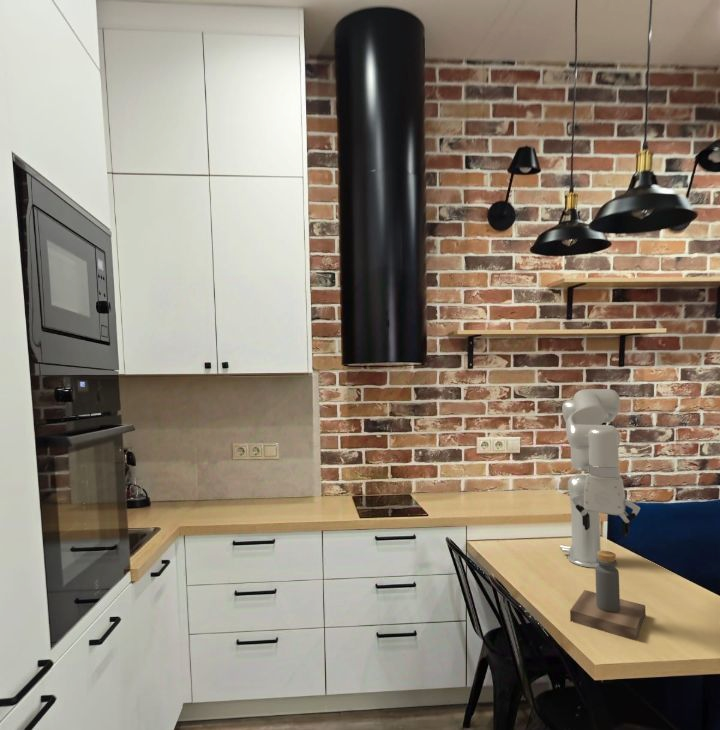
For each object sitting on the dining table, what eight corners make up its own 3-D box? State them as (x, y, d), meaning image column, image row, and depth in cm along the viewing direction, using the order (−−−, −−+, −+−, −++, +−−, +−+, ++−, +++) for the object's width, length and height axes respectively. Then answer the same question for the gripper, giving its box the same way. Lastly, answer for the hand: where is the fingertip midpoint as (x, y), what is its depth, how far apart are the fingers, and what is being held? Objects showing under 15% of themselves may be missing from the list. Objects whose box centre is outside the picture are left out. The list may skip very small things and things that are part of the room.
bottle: (592, 602, 134) (591, 549, 134) (613, 602, 134) (611, 549, 134) (602, 612, 128) (601, 556, 129) (624, 612, 128) (622, 557, 128)
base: (570, 621, 129) (570, 610, 129) (584, 599, 142) (584, 589, 142) (636, 640, 119) (636, 628, 119) (645, 616, 132) (645, 605, 132)
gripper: (568, 470, 135) (569, 529, 134) (636, 477, 124) (638, 542, 123) (575, 466, 140) (576, 523, 140) (641, 473, 130) (642, 534, 129)
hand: (605, 532), depth 132 cm, fingers open, 9 cm apart
